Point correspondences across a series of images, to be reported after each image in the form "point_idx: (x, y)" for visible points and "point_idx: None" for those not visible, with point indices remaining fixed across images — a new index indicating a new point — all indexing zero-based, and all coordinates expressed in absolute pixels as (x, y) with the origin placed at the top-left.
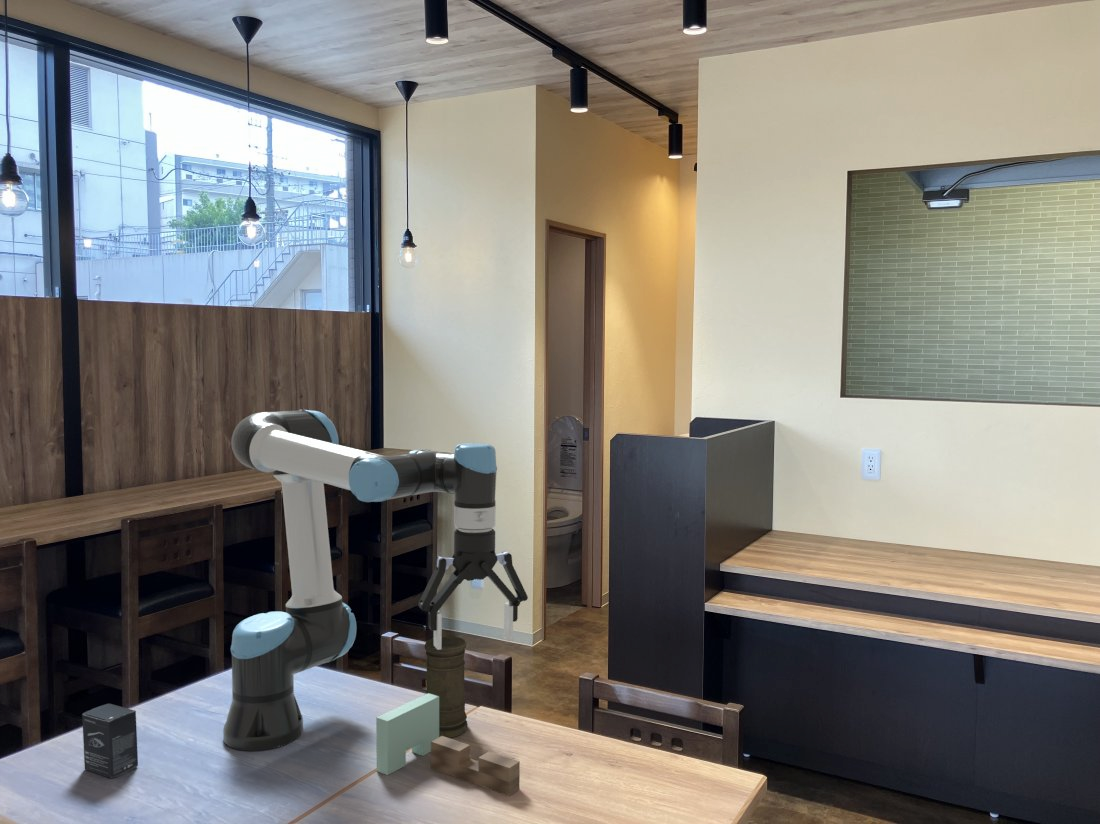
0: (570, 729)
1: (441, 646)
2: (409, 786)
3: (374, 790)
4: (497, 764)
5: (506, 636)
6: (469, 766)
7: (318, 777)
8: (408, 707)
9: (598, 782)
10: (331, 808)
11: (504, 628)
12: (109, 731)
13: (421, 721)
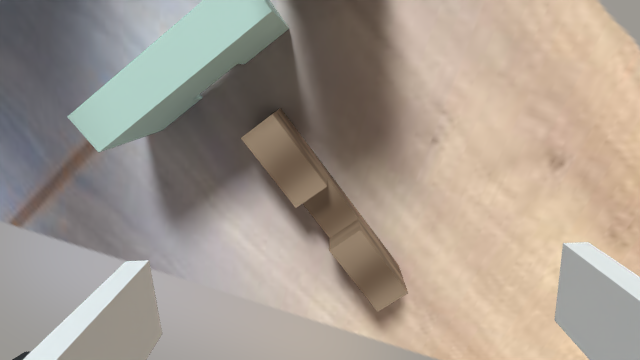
0: (628, 37)
1: (156, 342)
2: (201, 188)
3: (134, 182)
4: (359, 288)
5: (566, 293)
6: (317, 212)
7: (21, 92)
8: (164, 72)
9: (548, 287)
10: (58, 220)
11: (595, 277)
12: None
13: (219, 65)
